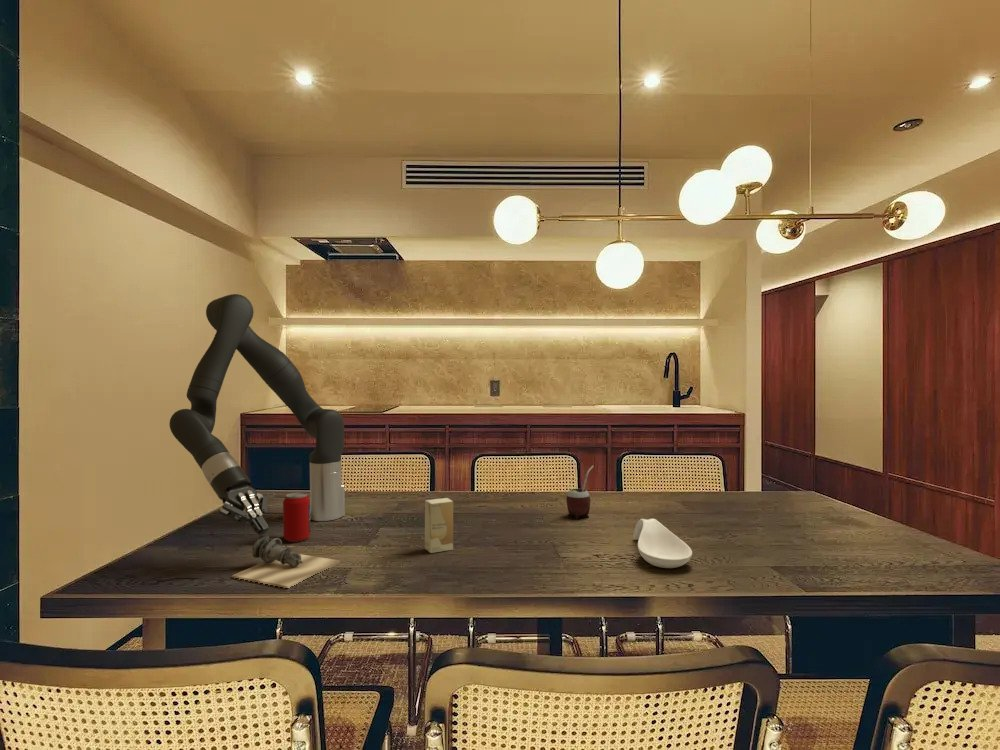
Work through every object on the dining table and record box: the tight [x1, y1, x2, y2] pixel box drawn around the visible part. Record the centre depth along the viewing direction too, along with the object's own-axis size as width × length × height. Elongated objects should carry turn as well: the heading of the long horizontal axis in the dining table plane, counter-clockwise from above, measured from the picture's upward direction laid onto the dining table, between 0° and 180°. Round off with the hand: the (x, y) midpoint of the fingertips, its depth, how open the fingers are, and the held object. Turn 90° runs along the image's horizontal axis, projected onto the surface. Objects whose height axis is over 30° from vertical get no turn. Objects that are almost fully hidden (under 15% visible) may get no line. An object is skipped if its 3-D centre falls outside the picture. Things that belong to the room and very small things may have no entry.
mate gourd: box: [565, 465, 594, 521], centre depth 162 cm, size 8×8×15 cm
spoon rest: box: [632, 518, 693, 569], centre depth 128 cm, size 24×12×7 cm, turn 3°
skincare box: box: [424, 497, 454, 554], centre depth 134 cm, size 6×4×12 cm
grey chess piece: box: [251, 534, 303, 567], centre depth 123 cm, size 6×6×12 cm
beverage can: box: [282, 491, 311, 543], centre depth 144 cm, size 7×7×12 cm
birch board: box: [231, 553, 341, 589], centre depth 122 cm, size 16×16×1 cm
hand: (264, 532), depth 124 cm, fingers closed
